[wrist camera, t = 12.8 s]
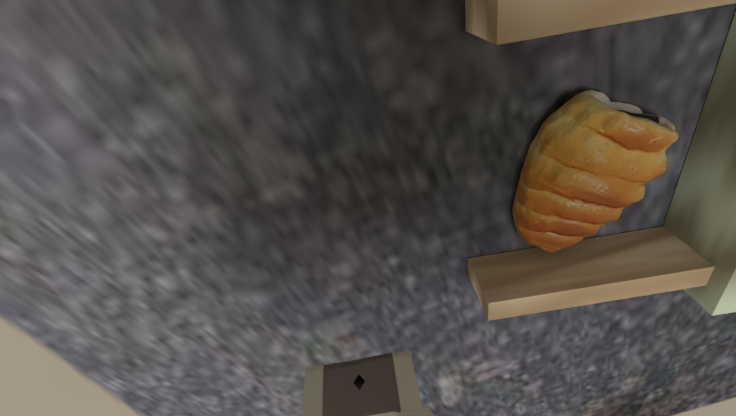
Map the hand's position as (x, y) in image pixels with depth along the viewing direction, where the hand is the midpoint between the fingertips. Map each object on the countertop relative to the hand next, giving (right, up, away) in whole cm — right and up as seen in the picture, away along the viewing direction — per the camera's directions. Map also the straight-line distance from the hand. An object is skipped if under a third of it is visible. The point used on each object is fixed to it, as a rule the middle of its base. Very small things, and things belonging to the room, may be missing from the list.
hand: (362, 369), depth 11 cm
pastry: (+12, +8, +11) cm, 18 cm away
